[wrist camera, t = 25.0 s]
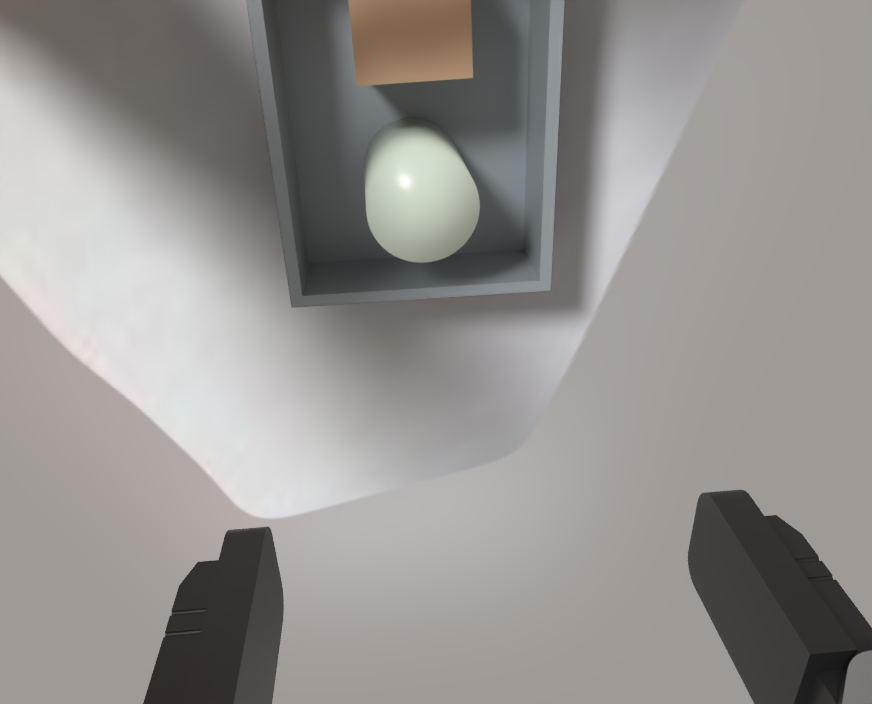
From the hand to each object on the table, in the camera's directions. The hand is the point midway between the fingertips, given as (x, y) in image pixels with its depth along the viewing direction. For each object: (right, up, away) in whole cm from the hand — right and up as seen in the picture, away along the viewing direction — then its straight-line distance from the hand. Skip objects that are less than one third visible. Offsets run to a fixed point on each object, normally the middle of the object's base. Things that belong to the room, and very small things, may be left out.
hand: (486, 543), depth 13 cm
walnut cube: (-2, +20, +20) cm, 28 cm away
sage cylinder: (-2, +13, +24) cm, 27 cm away
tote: (-2, +16, +23) cm, 28 cm away
